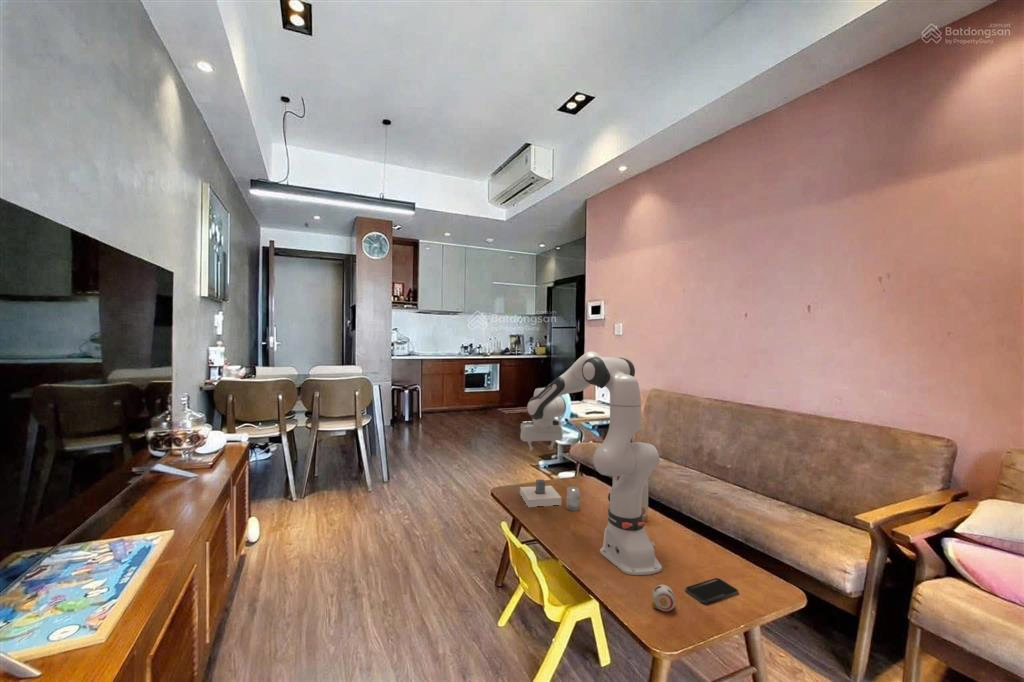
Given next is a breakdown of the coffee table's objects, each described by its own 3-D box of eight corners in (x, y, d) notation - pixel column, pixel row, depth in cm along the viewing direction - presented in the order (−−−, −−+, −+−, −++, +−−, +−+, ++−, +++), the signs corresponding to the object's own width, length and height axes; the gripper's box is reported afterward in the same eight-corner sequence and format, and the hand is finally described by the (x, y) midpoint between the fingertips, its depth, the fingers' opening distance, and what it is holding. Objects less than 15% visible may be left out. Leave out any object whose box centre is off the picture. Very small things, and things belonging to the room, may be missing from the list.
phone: (683, 588, 125) (717, 577, 131) (683, 591, 125) (717, 580, 131) (705, 603, 117) (740, 591, 124) (705, 607, 117) (740, 595, 124)
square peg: (544, 500, 192) (545, 481, 192) (537, 501, 192) (537, 482, 192) (542, 498, 196) (542, 479, 196) (535, 498, 195) (535, 479, 195)
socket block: (561, 505, 188) (561, 497, 188) (527, 507, 184) (528, 499, 184) (550, 492, 203) (551, 485, 203) (519, 494, 200) (519, 487, 200)
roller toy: (676, 615, 113) (677, 594, 113) (652, 611, 115) (653, 590, 115) (674, 605, 118) (674, 585, 118) (650, 601, 119) (651, 581, 119)
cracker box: (642, 516, 178) (643, 468, 178) (648, 522, 172) (649, 472, 172) (611, 517, 176) (612, 468, 176) (616, 523, 170) (617, 473, 170)
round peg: (580, 510, 182) (581, 490, 182) (569, 511, 181) (569, 491, 181) (576, 505, 188) (576, 486, 188) (564, 506, 187) (565, 486, 187)
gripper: (522, 422, 188) (521, 452, 188) (564, 421, 193) (563, 451, 193) (519, 420, 195) (518, 448, 195) (559, 419, 199) (559, 447, 199)
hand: (541, 449), depth 194 cm, fingers open, 8 cm apart
